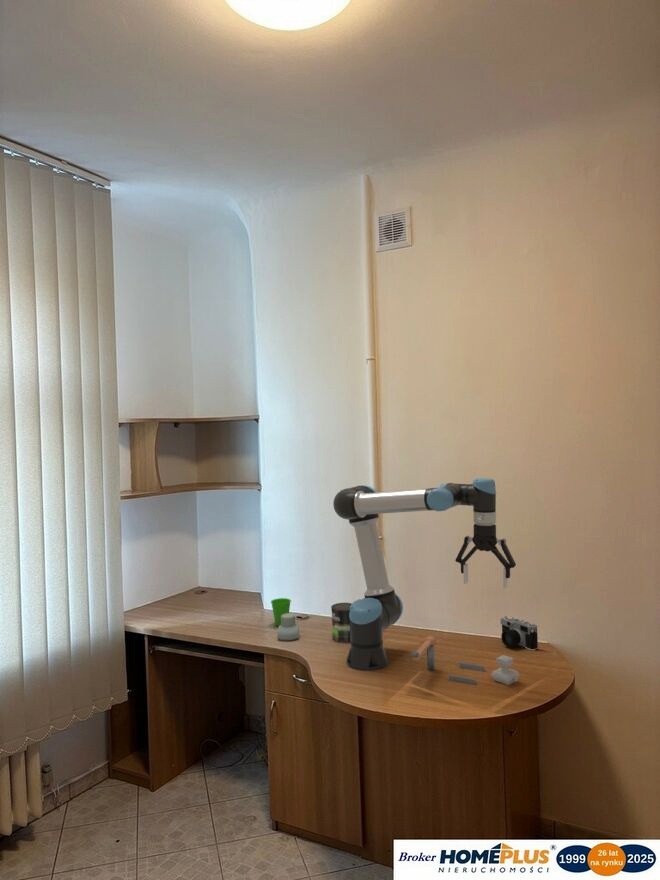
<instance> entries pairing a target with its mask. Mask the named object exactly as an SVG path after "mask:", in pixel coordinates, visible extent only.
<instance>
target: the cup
mask: <svg viewBox="0 0 660 880" xmlns="http://www.w3.org/2000/svg"><path fill="white" fill-rule="evenodd" d="M270 603H271V607H272V612H273V618H274V623H275V626H276V627H278V626H280V625H281V615H283V614H286V613H290V610H291V603H292V600H291V599H290V598H286V597H281V598H280V597H279V598H274V599H272V600H271V601H270Z"/></svg>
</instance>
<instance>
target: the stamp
mask: <svg viewBox="0 0 660 880" xmlns="http://www.w3.org/2000/svg"><path fill="white" fill-rule="evenodd" d="M495 659H496V660H495V662H496V663H497V665H499V666H500V667H499V668H497V669H495V670H493V671H492V672H491V678H492V679H494V681H496V682H498V683H501V684H504V685H506V686H509V685H511V684H513V683H514V682H515V683H516V682H518V678H519V677H520V672H519V671H518V670H515V669H512V668H510V666H511V665H513V664H514V657H511V656H507V655H504V654H503V655H502V654H501V655H500V656H499V657H496V658H495Z"/></svg>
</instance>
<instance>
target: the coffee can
mask: <svg viewBox="0 0 660 880" xmlns="http://www.w3.org/2000/svg"><path fill="white" fill-rule="evenodd" d="M352 603H353V602H351V603H350V602H337V603H334V604H332V605H331V606H330V608H331V635H332V636H331V637H332V639H331V640H332V641H333V642H337V643H345V644H346V643H351V640H350V618H349V613H350V606H351V604H352Z"/></svg>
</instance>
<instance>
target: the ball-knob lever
mask: <svg viewBox="0 0 660 880" xmlns="http://www.w3.org/2000/svg"><path fill="white" fill-rule="evenodd" d="M430 645H434V646H435V645H436V637H435V636H432V635H431V636H430V635H428V636H425V637H424V642H423V643H422V644H421V645H420V647H419V648H418V649H417V650H416V651H412V652H411V657H412V660H415V661H419V660H420V658H421V657H422V656H423V655H424V654H425V653H426V652H427V649H428V648H429V646H430Z"/></svg>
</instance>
